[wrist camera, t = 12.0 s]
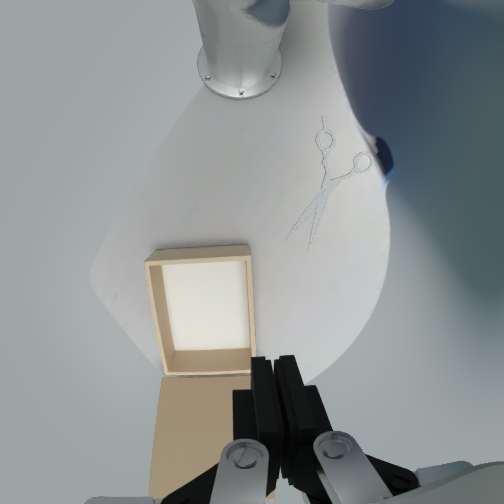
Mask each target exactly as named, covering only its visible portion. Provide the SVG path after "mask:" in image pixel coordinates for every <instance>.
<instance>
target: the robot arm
mask: <svg viewBox="0 0 504 504" xmlns="http://www.w3.org/2000/svg"><path fill="white" fill-rule="evenodd" d="M192 1H193V3H194V7H195V10H196V15H197V19H198V23H199V28H200V32H201V37H202V41H203V46H202V48H201V50H200V52H199V55H198V60H197V65H198V71H199V75H200V77H201V79H202V81H203V82H204V84H205V85H206V86H207V87H208V88H209V89H210V90H212V91H213V92H214V93H216V94H218V95H220V96H223V97H226V98H230V99H249V98H253V97H256V96H259V95H261V94H263V93H265V92H266V91H267V90H269V89H270V88H271V87H272V86H273V85H274V84H275V82H276V81H277V79H278V77H279V75H280V73H281V70H282V56H281V53H280V50H279V48H278V47H279V44H280V41H281V39H282V36H283V33H284V31H285V28H286V25H287V22H288V19H289V16H290V10H291V9H290V0H192ZM311 1H319V2H326V3H332V4H338V5H345V6H351V7H356V8H362V9H380V8H383V7H386V6H387V5H389V4H390V3H392V2H393V1H394V0H311ZM271 76H273V77H274V78H271ZM207 79H210V80H209V81H207ZM240 93H242V94H243V95H242V96H241V95H240ZM232 402H233V441H232V442H230V443H228V444H227V445H226V446H225V447H224V448H223V450H222V452H221V456H220V461H219V462H218V463H217V464H215V465H214V466H212V467H211V468H210V469H208V470H207V471H205V472H204V473H202V474H201V475H199V476H198V477H196V478H194V479H193V480H191V481H190V482H188V483H187V484H185V485H183V486H182V487H180V488H178V489H177V490H175V491H173V492H172V493H170V494H168V495H167V496H166V497H165V498H160V499H154V498H153V497H92V498H91V499H88V500H87V501H86V502H85V503H84V504H265V499H266V497H267V496H268V495H269V494H270V493H271V492H273V491H274V490H275V488H276V481H277V479H278V478H279V472H280V467H281V473H282V477H283V479H285V478H288V482H289V485H293V486H294V487H295V488H296V489H298V490H300V491H301V493H302V497H303V500H304V502H305V504H504V462H502V461H499V462H489V463H484V464H479V465H476V466H473V465H472V464H470V463H469V462H466V461H457V462H453V463H447V464H442V465H437V466H432V467H426V468H419V469H417V470H416V471H415V472H412V471H410V470H408V469H405V468H402V467H399V466H397V465H394V464H391V463H388V462H385V461H382V460H380V459H377V458H374V457H372V456H369V455H367V454H364V452H363V451H362V449H361V448H360V446H359V445H358V443H357V442H356V440H355V439H354V438H353V437H352V436H351V435H349V434H347V433H345V432H341V431H333V429H332V427H331V424H330V421H329V419H328V416H327V413H326V411H325V408H324V405H323V403H322V400H321V397H320V395H319V392H318V389H317V387H316V386H315V385H309V386H304V384H303V381H302V378H301V375H300V372H299V369H298V366H297V362H296V359H295V356H294V355H284V356H279V359H276V360H274V373H273V369H272V364H271V360H266V359H265V356H263V357H251V389H236V390H232Z"/></svg>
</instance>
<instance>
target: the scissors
mask: <svg viewBox="0 0 504 504" xmlns="http://www.w3.org/2000/svg"><path fill="white" fill-rule="evenodd" d="M322 121H323V130H321V131H320V132H319V133H318V134H317V137H316V143H317V146H318V148H319V149H320V150H321V151H322V153H323V156H324V159H323V162H322V164H323V165H324V167H325V171H326V173H325V176H324V180H323V184H322V187H321V191H320V192H319V194H318V195H317V196H316V197H315V199H314V200H313V201H312V203H311V204H310V205H309V206H308V208H307V209H306V210H305V212H304V213H303V215H302V216H301V217H300V219H299V220H298V222H297V223H296V224H295V226H294V227H293V229H292V230H291V231H290V233H289V234H288V236H287V237H286V239H287V238H288V237H289V236H290V234H291V233H292V232H293V231H294V230H295V229H296V228H297V227H298V226H299V225H300V224H301V223H302V222H303V221H304V220H305V219H306V218H307V217H308V216H309V215H310V214H311V213H312V212H313V210H314V209H315V207H316V206H317V210H316V214H315V219H314V224H313V229H312V234H311V239H310V243H309V247H310V244H311V242H312V239H313V237H314V234H315V232H316V229H317V227H318V224H319V221H320V219H321V216H322V213H323V210H324V207H325V204H326V201H327V198H328V195H329V194H330V193H331V192H332V191H333V189H334V188H335V187H336V186H337V185H338V184H339V183H340V182H341V180H343V179H345V178H350V176H351V175H352V174H353V172H360V173H364V172H367V171H369V170H370V169H371V168H372V166H373V157H372V155H371V154H370V153H368V152H361V153H360V154H358V155H357V156H356V157H355V158H354V168H353V169H352V170H351V172H350V173H349V174H347V175H345V176H342V177H340V178H335V179H333V180H330V175H329V171H328V167H327V156H328V153H329V151H330V150H332V149H334V148H335V147H336V139H335V136H334V134H333V133H332V131H330V130H328V129H327V125H326V116H322ZM325 132H327V133H329V134H330V135H331V136H332V144H331V146H330V147H329V148H327V149H325V148H323V147H322V146H321V145H320V141H319V140H320V136H321V135H322V133H325ZM363 155H367V156H368V157H369V158H370V160H371V164H370V166H369V168H367V169H365V170H361V169H359V168H358V160H359V159H360V157H361V156H363ZM317 204H318V205H317ZM286 239H285V240H286ZM285 240H284V241H285ZM308 250H309V248H308Z"/></svg>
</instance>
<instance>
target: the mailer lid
mask: <svg viewBox="0 0 504 504" xmlns="http://www.w3.org/2000/svg"><path fill="white" fill-rule="evenodd" d="M236 389H251V375H249V376H231V377H203V378H162V381H161V388H160V395H159V402H158V409H157V416H156V424H155V432H154V441H153V450H152V459H151V470H150V480H149V493H148V497H153V498H154V499H160V498H165V497H166V496H167V495H168V494H170V493H172V492H173V491H175V490H177V489H178V488H180V487H182V486H183V485H185V484H187V483H188V482H190V481H191V480H193V479H194V478H196V477H198V476H199V475H201V474H202V473H204V472H205V471H207V470H208V469H210V468H211V467H212V466H214V465H215V464H217V463H218V462H219V461H220V456H221V452H222V450H223V448H224V447H225V446H226V445H227V444H228V443H230V442H232V441H233V402H232V390H236ZM268 500H275V495H274V491H273V492H271V493H270V494H269V495H268V496H267V497H266V499H265V501H268Z"/></svg>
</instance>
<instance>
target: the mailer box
mask: <svg viewBox="0 0 504 504" xmlns="http://www.w3.org/2000/svg"><path fill="white" fill-rule="evenodd" d="M144 264H145V271H146V278H147V285H148V291H149V297H150V303H151V309H152V315H153V320H154V325H155V330H156V335H157V340H158V345H159V350H160V355H161V359H162V364H163V368H164V372H165V375H214V374H237V373H251V357H256V345H255V325H254V305H253V285H252V265H251V253H250V249H249V244H242V245H225V246H208V247H192V248H176V249H160V250H156V251H155V252H154V253H153V254H152V255H151V256H150V257H149V258H147V259H146V260H145V261H144Z"/></svg>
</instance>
